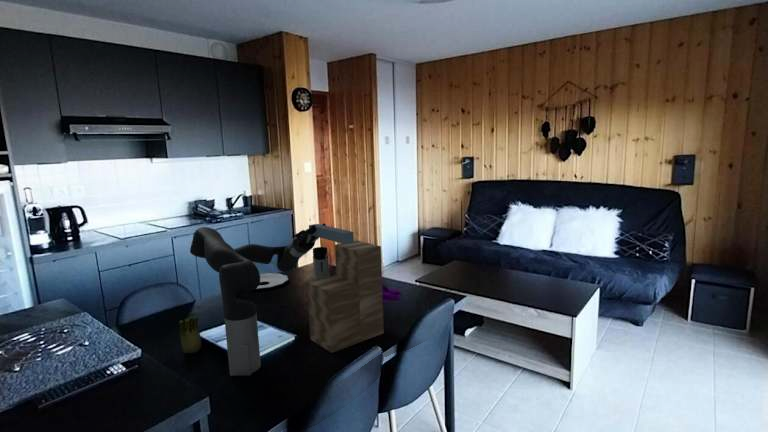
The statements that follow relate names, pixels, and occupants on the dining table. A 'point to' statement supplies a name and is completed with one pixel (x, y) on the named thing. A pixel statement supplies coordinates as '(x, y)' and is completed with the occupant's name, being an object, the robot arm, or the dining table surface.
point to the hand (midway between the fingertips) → (320, 226)
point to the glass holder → (321, 262)
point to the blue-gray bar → (333, 234)
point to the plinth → (348, 298)
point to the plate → (271, 280)
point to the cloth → (389, 294)
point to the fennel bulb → (190, 335)
